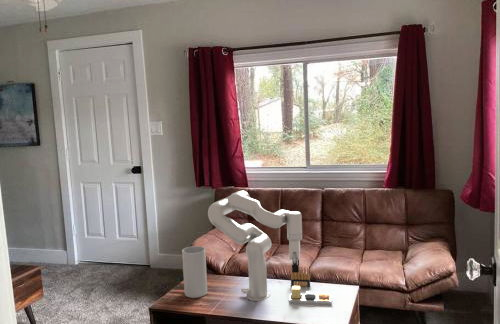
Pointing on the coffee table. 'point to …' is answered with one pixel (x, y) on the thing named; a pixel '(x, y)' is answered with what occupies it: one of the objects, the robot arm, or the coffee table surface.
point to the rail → (318, 300)
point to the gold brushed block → (296, 292)
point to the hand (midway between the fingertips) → (295, 268)
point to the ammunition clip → (301, 281)
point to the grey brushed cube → (309, 295)
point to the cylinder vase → (194, 271)
